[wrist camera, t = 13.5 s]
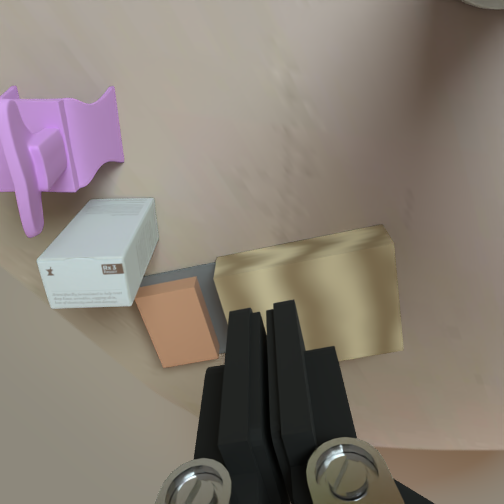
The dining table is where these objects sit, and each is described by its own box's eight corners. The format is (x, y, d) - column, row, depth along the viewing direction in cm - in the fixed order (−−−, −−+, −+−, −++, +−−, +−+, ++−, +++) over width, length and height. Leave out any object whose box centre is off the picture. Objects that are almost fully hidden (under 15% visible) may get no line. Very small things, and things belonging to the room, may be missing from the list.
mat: (218, 261, 44) (217, 263, 43) (244, 347, 49) (244, 349, 48) (131, 278, 45) (130, 280, 44) (165, 361, 50) (164, 363, 49)
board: (382, 224, 42) (394, 243, 38) (392, 325, 47) (403, 350, 44) (216, 257, 43) (213, 278, 40) (245, 350, 49) (244, 377, 45)
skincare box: (98, 239, 43) (46, 314, 32) (89, 195, 40) (30, 260, 30) (163, 237, 42) (132, 312, 32) (157, 193, 40) (122, 257, 30)
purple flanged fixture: (2, 72, 36) (-147, 106, 22) (112, 72, 36) (28, 107, 22) (26, 172, 40) (-88, 252, 26) (125, 173, 39) (61, 253, 26)
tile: (134, 298, 43) (138, 287, 45) (163, 367, 47) (166, 355, 49) (194, 287, 42) (196, 276, 44) (218, 358, 46) (219, 345, 48)
